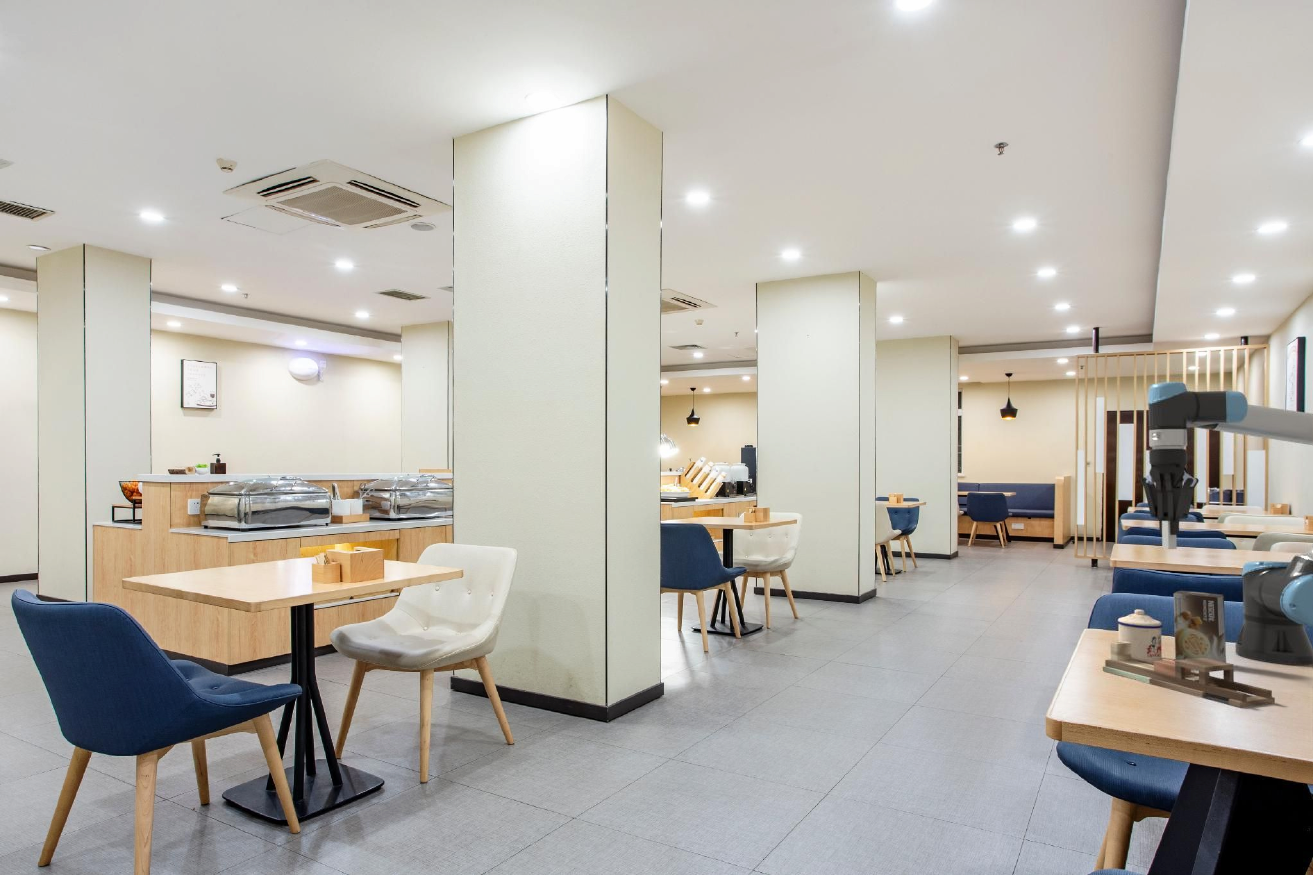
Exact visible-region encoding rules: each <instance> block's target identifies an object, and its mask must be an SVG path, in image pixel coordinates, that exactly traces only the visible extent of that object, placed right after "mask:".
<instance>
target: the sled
mask: <svg viewBox="0 0 1313 875" xmlns="http://www.w3.org/2000/svg"><path fill="white" fill-rule="evenodd" d="M1110 660H1113V661H1117V662H1121V663H1125V664H1129V665H1133V666H1137V667H1141V668H1145V669H1149V670H1153V671H1157V672H1161V673H1165V674H1169V675H1173V676H1175V660H1170V659H1162V660H1159V661H1154V665H1150V664H1146V663H1141V662H1137V661H1133V660H1132V659H1131V643H1130V642H1125V641H1124V642H1119V641H1114V642H1113V641H1112V642H1110ZM1191 671H1192V669H1188V668H1185V679H1190V680H1194V681H1198V682H1199V676H1195V675H1191Z"/></svg>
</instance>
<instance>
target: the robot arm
mask: <svg viewBox="0 0 1313 875" xmlns="http://www.w3.org/2000/svg"><path fill="white" fill-rule="evenodd" d="M1147 399H1148V400H1147V406H1148V426H1149V428H1148V430H1149V431H1148V435H1149V436H1148V439H1149V440H1148V442H1149V444H1148V445H1149V447H1151V448H1152V449H1150V450H1149V451H1148V452H1149V453H1148V454H1149V455H1148V456H1149V457H1148V458H1149V461H1148V462H1149V464H1150V470H1149V473H1148V475H1146V476H1144V477H1140V478H1139V482H1140V483H1141V485H1142V486H1143V490H1144V493H1145V498H1146V502H1147V505H1148V510H1149V513H1150V514H1149V515H1150V517H1152V518H1155V519H1157V520H1158V524H1159V526H1158V528H1159V529H1158V530H1159V531H1158V532H1159V534H1160V535H1161V536H1162V537H1161V544H1162V545H1161V546H1162V550H1177V536H1179V534H1180V521H1181V520H1185V519H1186V520H1187V519H1188V517H1189V513H1190V510H1191V505H1192V504H1191V503H1192V500H1193V496H1194V492H1195V488H1196V486H1197V485H1198V483H1199V482H1200V480H1199V478H1197V477H1192V476H1191V475H1190V474H1189V471H1188V470H1187V465H1188V450H1187V449H1186V447H1187V446H1188V431H1187V430H1188V429H1191V428H1196V429H1202V430H1210V431H1215V432H1216V431H1217V432H1218V431H1219V432H1223V433H1231V434H1238V435H1242V436H1243V435H1244V436H1249V437H1255V438H1262V439H1269V440H1275V441H1283V442H1288V443H1294V444H1296V443H1297V444H1300V445H1301V444H1303V445H1306V446H1307V445H1308V446H1313V412H1311V413H1310V412H1305V411H1304V412H1303V411H1295V410H1289V409H1283V408H1275V407H1270V406H1269V407H1268V406H1261V405H1254V404H1248V400H1247V397H1246V395H1245V394H1244V393H1243V392H1241V391H1235V390H1234V391H1233V390H1231V391H1230V390H1216V391H1215V390H1214V391H1211V390H1210V391H1207V390H1206V391H1205V390H1204V391H1190V390H1188V389H1187V384H1185V383H1184V382H1180V381H1179V382H1177V381H1176V382H1175V381H1172V382H1171V381H1169V382H1166V381H1165V382H1159V383H1154V384H1151V386H1149V388H1148V398H1147ZM1242 567H1243V568H1242V574H1241V578H1242V606H1243V622H1242V626H1241V629H1240V632H1239V634H1238V636H1237V639H1236V641H1235V646H1234V647H1235V649H1234V650H1235V654H1236V655H1238V656H1240V657H1244V658H1248V659H1251V660H1257V661H1262V662H1267V663H1268V662H1269V663H1277V664H1287V665H1311V664H1313V646H1312V644H1311V642H1310V641H1311V640H1310V639H1309V637H1308V634H1307V632H1306V629H1305V628H1306V627H1305V626H1308V627H1309V626H1310V627H1313V543H1312V544H1311V546H1310V547H1309V549H1308V551H1306V552H1305V553H1299V554H1295V555H1294V556H1293V558H1292V559H1291V561H1267V560H1266V561H1255V560H1254V561H1248V562H1245V563H1244V564H1243V566H1242Z"/></svg>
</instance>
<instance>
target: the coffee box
mask: <svg viewBox="0 0 1313 875" xmlns="http://www.w3.org/2000/svg"><path fill="white" fill-rule="evenodd" d="M1173 615H1174V616H1173V619H1174V620H1173V622H1174V625H1173V626H1174V646H1175V647H1174V652H1175V655H1174V656H1175V660H1185V659H1195V658H1207V659H1212V660H1216V661H1221V662H1225V663H1227V655H1226V654H1227V653H1226V652H1227V651H1226V650H1227V648H1226V644H1227V643H1226V622H1225V620H1226V619H1225V618H1226V617H1225V616H1226V615H1225V595H1224V594H1218V593H1208V592H1200V591H1199V592H1198V591H1188V590H1178V591H1175V592H1174V593H1173ZM1175 660H1174V661H1175Z"/></svg>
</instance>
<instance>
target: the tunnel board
mask: <svg viewBox="0 0 1313 875" xmlns="http://www.w3.org/2000/svg"><path fill="white" fill-rule="evenodd" d="M1131 659H1132V660H1133V661H1137V662H1141V663H1146V664H1150V665H1154V662H1150V661H1146V660H1142V659H1138V658H1133V657H1131ZM1104 660H1105V662H1104V664H1105V665H1103V666H1102V672H1105V673H1108V672H1109V674H1113V675H1117V676H1120V677H1123V676H1124V678H1127V679H1131V680H1134V679H1136V681H1138V682H1142V681H1143V682H1142V683H1147V684H1150V685H1153V686H1157V687H1161V688H1164V689H1169V690H1172V691H1175V692H1180V693H1183V694H1187V695H1191V696H1195V697H1199V698H1202V699H1206V700H1209V701H1212V702H1213V701H1214V702H1217V703H1220V704H1225V705H1228V706H1231V707H1236V708H1246V707H1254V706H1262V705H1263V704H1264V705H1270V704H1275V702H1276V698H1275V697H1274V696H1273V690H1271V689H1267V688H1262V687H1259V686H1254V685H1249V684H1246V683H1242V682H1238V681H1235V677H1234V672H1235V669H1234V664H1233V663H1230V662H1226V663H1225V662H1221V661H1216V660H1212V659H1207V658H1195V659H1185V660H1174V661H1175V676H1173V675H1169V674H1165V673H1161V672H1157V671H1153V670H1149V669H1145V668H1141V667H1137V666H1133V665H1129V664H1125V663H1121V662H1117V661H1113V660H1111V659H1104ZM1185 668H1188V669H1191V675H1195V676H1199V682H1198V681H1194V680H1190V679H1185ZM1193 670H1194V671H1193ZM1195 671H1196V672H1195ZM1220 671H1221V672H1222V674H1223V678H1220V677H1216V676H1212V675H1210V673H1211V672H1220ZM1264 705H1263V706H1264Z"/></svg>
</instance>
